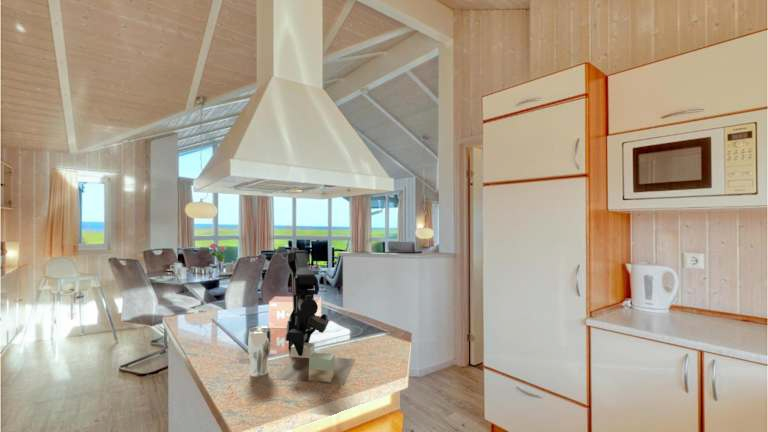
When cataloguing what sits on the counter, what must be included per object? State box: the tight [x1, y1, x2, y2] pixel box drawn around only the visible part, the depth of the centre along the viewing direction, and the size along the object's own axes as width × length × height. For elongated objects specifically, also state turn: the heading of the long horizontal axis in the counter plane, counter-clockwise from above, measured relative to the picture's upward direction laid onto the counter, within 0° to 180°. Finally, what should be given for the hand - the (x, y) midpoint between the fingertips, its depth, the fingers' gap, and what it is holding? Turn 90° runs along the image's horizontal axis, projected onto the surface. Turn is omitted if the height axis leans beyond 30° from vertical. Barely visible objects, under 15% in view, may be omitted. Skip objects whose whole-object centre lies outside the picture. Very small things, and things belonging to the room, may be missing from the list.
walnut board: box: [274, 357, 356, 386], centre depth 120 cm, size 22×20×1 cm
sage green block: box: [309, 352, 336, 371], centre depth 113 cm, size 7×4×4 cm, turn 84°
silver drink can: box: [247, 326, 272, 378], centre depth 116 cm, size 7×7×15 cm
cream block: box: [290, 342, 315, 358], centre depth 125 cm, size 7×4×4 cm, turn 84°
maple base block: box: [309, 366, 334, 382], centre depth 113 cm, size 7×4×4 cm, turn 84°
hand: (302, 353), depth 125 cm, fingers closed on cream block, 4 cm apart
